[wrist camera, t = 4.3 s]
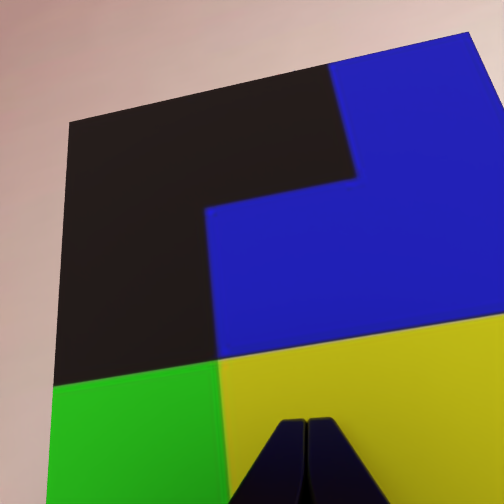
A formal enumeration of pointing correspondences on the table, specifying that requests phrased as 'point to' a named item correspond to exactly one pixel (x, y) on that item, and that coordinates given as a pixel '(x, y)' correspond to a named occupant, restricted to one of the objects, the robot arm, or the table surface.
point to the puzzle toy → (286, 282)
